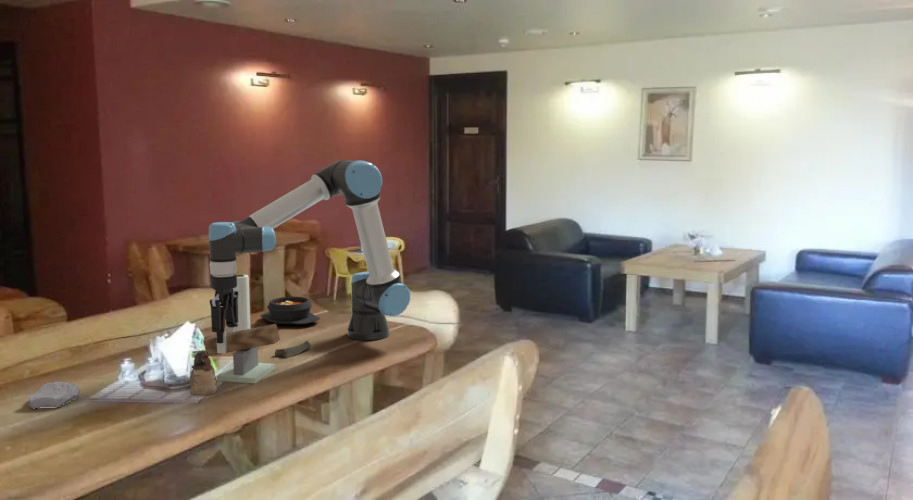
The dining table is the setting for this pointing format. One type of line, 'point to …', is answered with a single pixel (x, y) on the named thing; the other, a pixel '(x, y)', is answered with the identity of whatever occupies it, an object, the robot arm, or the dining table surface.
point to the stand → (246, 368)
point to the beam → (244, 339)
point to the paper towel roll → (243, 302)
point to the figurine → (203, 375)
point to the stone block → (54, 395)
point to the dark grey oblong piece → (293, 350)
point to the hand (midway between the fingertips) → (226, 350)
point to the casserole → (290, 311)
